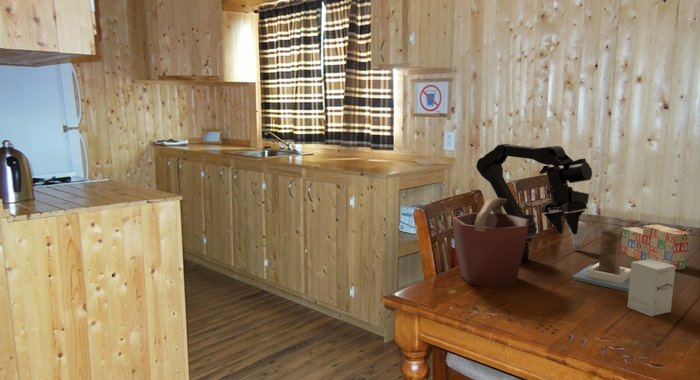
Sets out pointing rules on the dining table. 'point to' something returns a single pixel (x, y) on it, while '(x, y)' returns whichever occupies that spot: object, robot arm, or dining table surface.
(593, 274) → the socket
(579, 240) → the lightbulb
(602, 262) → the walnut pillar
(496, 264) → the bucket
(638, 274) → the supplement box
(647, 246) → the stack of blocks
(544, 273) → the dining table surface
